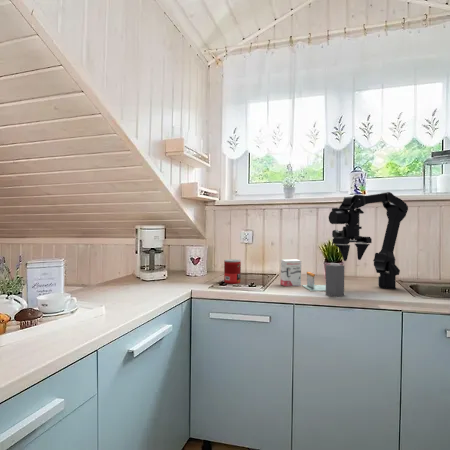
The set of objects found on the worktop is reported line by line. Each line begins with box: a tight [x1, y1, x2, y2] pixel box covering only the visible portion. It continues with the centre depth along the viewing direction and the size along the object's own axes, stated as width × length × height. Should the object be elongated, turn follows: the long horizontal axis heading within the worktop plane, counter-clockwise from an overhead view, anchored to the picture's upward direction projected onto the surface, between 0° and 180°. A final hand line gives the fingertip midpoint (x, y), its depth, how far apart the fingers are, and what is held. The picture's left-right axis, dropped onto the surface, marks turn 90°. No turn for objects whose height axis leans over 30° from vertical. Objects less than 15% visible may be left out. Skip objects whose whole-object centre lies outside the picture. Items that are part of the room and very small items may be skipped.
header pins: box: [306, 271, 316, 289], centre depth 156 cm, size 2×8×6 cm, turn 4°
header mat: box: [301, 284, 326, 292], centre depth 156 cm, size 13×13×1 cm
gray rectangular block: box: [325, 262, 345, 298], centre depth 142 cm, size 5×5×13 cm
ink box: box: [280, 258, 302, 287], centre depth 164 cm, size 9×5×12 cm, turn 105°
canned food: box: [223, 258, 242, 285], centre depth 171 cm, size 8×8×11 cm
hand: (352, 260), depth 152 cm, fingers open, 9 cm apart
